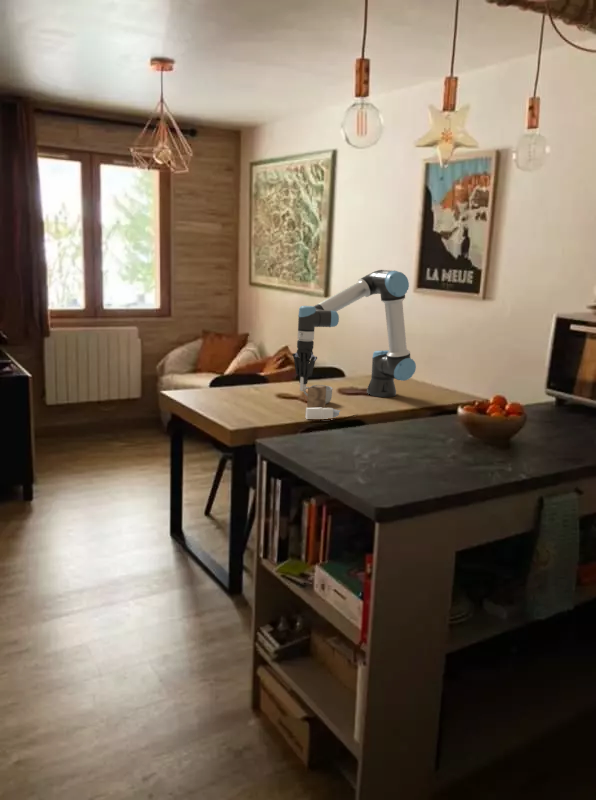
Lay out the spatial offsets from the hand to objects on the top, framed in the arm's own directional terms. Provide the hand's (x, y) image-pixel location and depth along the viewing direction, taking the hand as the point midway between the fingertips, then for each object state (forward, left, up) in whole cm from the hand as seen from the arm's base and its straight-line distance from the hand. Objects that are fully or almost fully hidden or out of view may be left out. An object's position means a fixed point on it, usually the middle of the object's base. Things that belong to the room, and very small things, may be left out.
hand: (302, 390), depth 314 cm
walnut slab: (0, +8, -8) cm, 11 cm away
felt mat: (0, +19, -8) cm, 20 cm away
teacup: (-13, -1, -8) cm, 16 cm away
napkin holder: (+12, +20, -9) cm, 25 cm away
